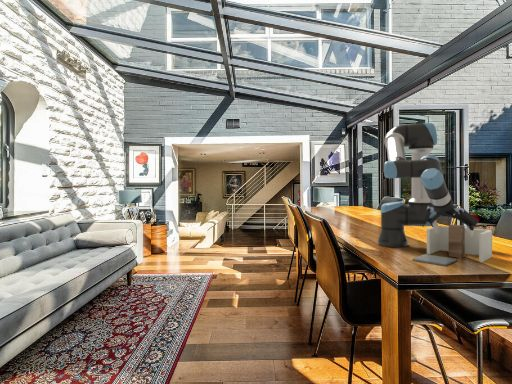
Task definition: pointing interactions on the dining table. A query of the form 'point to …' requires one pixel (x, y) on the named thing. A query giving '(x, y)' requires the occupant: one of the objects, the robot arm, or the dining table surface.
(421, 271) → the dining table surface
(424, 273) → the dining table surface
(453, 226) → the walnut block
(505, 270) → the dining table surface
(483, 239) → the cubby
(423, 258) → the coaster
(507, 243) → the dining table surface
